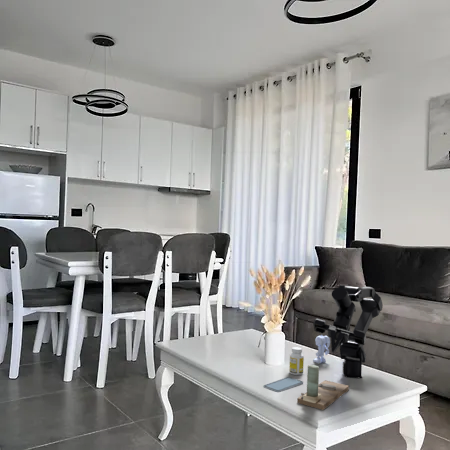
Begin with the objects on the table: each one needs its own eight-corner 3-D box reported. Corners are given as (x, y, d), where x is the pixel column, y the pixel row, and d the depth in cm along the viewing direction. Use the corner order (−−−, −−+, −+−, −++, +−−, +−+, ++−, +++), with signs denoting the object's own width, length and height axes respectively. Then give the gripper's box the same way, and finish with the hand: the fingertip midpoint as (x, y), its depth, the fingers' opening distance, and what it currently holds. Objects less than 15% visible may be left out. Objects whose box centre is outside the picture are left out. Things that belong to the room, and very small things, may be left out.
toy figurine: (320, 359, 202) (321, 331, 202) (331, 363, 196) (332, 335, 196) (309, 361, 198) (310, 333, 198) (319, 365, 193) (320, 336, 193)
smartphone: (262, 385, 164) (288, 376, 174) (262, 388, 164) (288, 379, 174) (278, 391, 158) (304, 381, 169) (278, 394, 158) (304, 384, 169)
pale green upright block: (304, 394, 152) (305, 362, 152) (321, 398, 149) (322, 366, 149) (298, 398, 148) (299, 366, 148) (314, 403, 145) (316, 369, 145)
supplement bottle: (301, 371, 183) (302, 346, 183) (304, 375, 178) (305, 350, 178) (288, 370, 183) (289, 346, 183) (290, 375, 178) (291, 349, 178)
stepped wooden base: (325, 384, 169) (325, 377, 169) (348, 389, 164) (349, 383, 164) (297, 402, 149) (297, 395, 149) (323, 409, 144) (323, 402, 144)
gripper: (370, 332, 174) (359, 369, 165) (322, 319, 182) (309, 354, 173) (369, 317, 165) (358, 356, 157) (319, 304, 174) (306, 340, 165)
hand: (332, 352), depth 164 cm, fingers closed
